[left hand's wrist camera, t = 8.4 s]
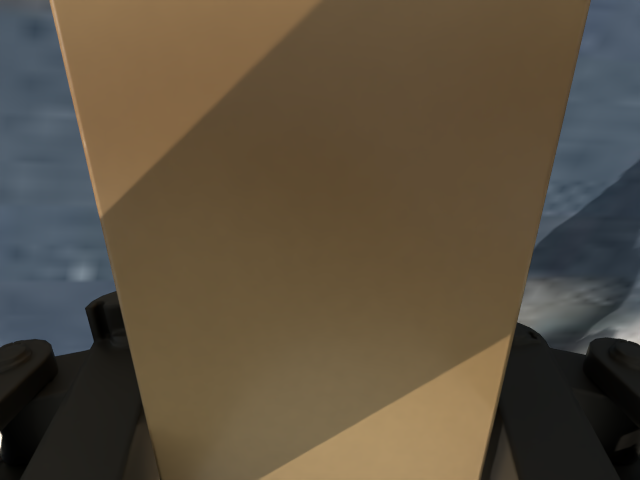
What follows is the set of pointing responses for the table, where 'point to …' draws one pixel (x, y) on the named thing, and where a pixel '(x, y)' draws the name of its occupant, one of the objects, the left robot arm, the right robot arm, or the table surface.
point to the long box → (320, 219)
